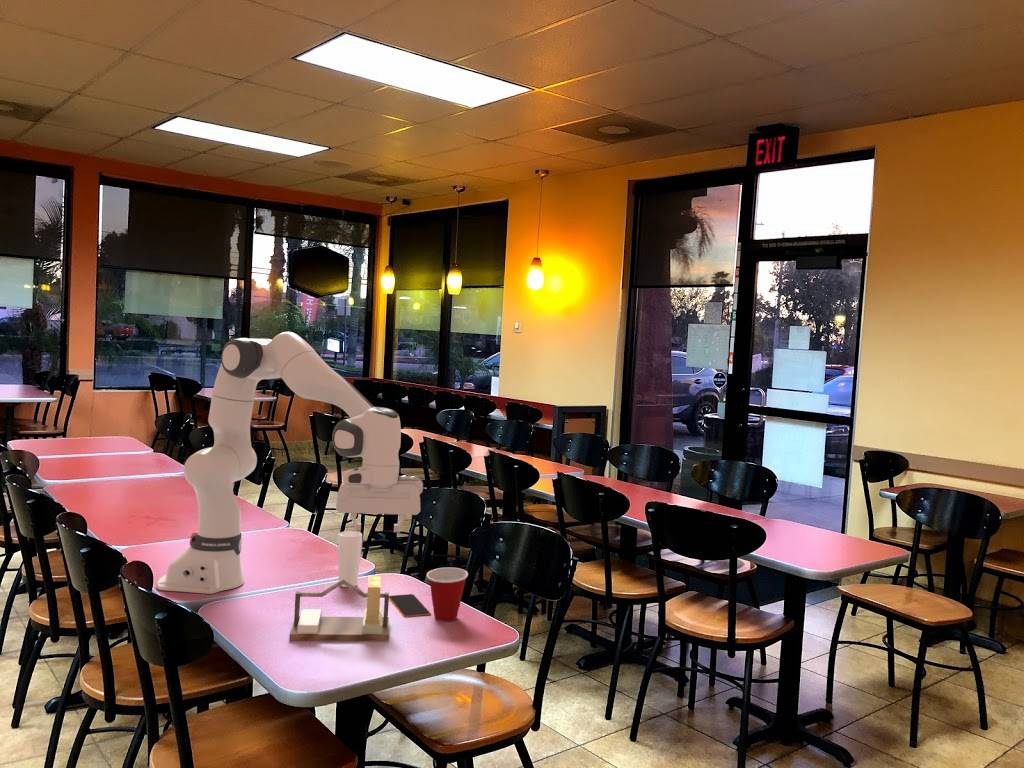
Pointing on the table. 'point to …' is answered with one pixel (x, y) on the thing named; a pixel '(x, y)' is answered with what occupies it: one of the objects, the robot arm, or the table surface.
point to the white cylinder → (349, 556)
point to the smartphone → (409, 605)
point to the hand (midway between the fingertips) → (377, 531)
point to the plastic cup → (446, 591)
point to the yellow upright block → (373, 600)
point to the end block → (372, 626)
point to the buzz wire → (339, 621)
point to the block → (309, 621)
